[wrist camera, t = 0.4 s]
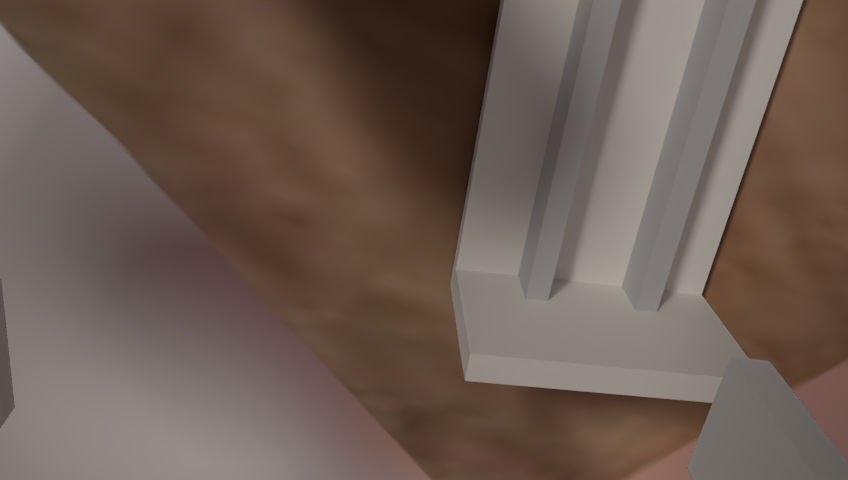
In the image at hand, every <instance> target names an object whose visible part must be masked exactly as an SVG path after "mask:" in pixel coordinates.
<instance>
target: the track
mask: <svg viewBox="0 0 848 480" xmlns="http://www.w3.org/2000/svg"><path fill="white" fill-rule="evenodd" d="M802 2H803V0H501V1H500V7H499V13H498V18H497V24H496V29H495V35H494V41H493V46H492V52H491V58H490V63H489V69H488V74H487V80H486V86H485V91H484V97H483V103H482V108H481V114H480V119H479V125H478V131H477V136H476V142H475V148H474V153H473V159H472V164H471V170H470V176H469V181H468V187H467V193H466V198H465V204H464V210H463V215H462V221H461V226H460V232H459V238H458V243H457V249H456V255H455V260H454V266H453V271H452V277H451V283H450V285H451V292H452V299H453V305H454V312H455V319H456V326H457V332H458V339H459V346H460V352H461V359H462V366H463V372H464V379H465V381H473V382H484V383H495V384H507V385H518V386H529V387H540V388H551V389H562V390H574V391H585V392H596V393H607V394H618V395H629V396H640V397H652V398H663V399H674V400H685V401H696V402H707V403H713V401H714V398H715V396H716V393H717V390H718V388H719V385H720V383H721V380H722V378H723V375H724V373H725V370H726V368H727V365H728V363H729V360H730V358H731V357H739V358H748V357H747V356H746V354H745V353H744V352H743V350H742V349H741V347H740V346H739V345H738V343H737V342H736V341H735V339H734V338H733V337H732V335H731V334H730V333H729V331H728V330H727V328H726V327H725V326H724V324H723V323H722V322H721V320H720V319H719V318H718V316H717V315H716V314H715V312H714V311H713V309H712V308H711V307H710V305H709V304H708V303H707V301H706V300H705V299H704V297H703V296H702V292H703V289H704V286H705V283H706V280H707V278H708V275H709V272H710V269H711V266H712V263H713V260H714V257H715V254H716V251H717V249H718V246H719V243H720V240H721V237H722V234H723V231H724V228H725V225H726V222H727V220H728V217H729V214H730V211H731V208H732V205H733V202H734V199H735V196H736V193H737V191H738V188H739V185H740V182H741V179H742V176H743V173H744V170H745V167H746V164H747V162H748V159H749V156H750V153H751V150H752V147H753V144H754V141H755V138H756V135H757V133H758V130H759V127H760V124H761V121H762V118H763V115H764V112H765V109H766V106H767V104H768V101H769V98H770V95H771V92H772V89H773V86H774V83H775V80H776V77H777V75H778V72H779V69H780V66H781V63H782V60H783V57H784V54H785V51H786V48H787V46H788V43H789V40H790V37H791V34H792V31H793V28H794V25H795V22H796V19H797V16H798V14H799V11H800V8H801V5H802ZM748 359H749V358H748Z"/></svg>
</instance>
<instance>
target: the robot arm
mask: <svg viewBox="0 0 848 480" xmlns="http://www.w3.org/2000/svg"><path fill="white" fill-rule="evenodd" d="M14 407H15V406H14V396H13V387H12V378H11V368H10V358H9V350H8V339H7V330H6V321H5V311H4V302H3V292H2V283H1V279H0V427H1V426H2V425H3V423H4V422H5V421H6V419H7V418H8V416H9V414H10V413H11V412H12V410H13V409H14ZM687 469H688V471H689V473H690V475H691V477H692V479H693V480H848V463H847V461H846V460H845V459H844V457H843V456H842V455H841V453H840V452H839V451H838V450H837V448H836V447H835V446H834V444H833V443H832V442H831V440H830V439H829V438H828V437H827V435H826V434H825V433H824V431H823V430H822V429H821V428H820V426H819V425H818V424H817V422H816V421H815V420H814V419H813V417H812V416H811V414H810V413H809V412H808V411H807V409H806V408H805V407H804V405H803V404H802V403H801V402H800V400H799V399H798V398H797V396H796V395H795V394H794V392H793V391H792V390H791V388H790V387H789V386H788V385H787V383H786V382H785V381H784V379H783V378H782V377H781V375H780V374H779V373H778V372H777V370H776V369H775V368H774V366H773V365H772V364H771V362H770V361H767V360H758V359H748V358H739V357H731V358H730V360H729V363H728V365H727V368H726V370H725V373H724V375H723V378H722V380H721V383H720V385H719V388H718V390H717V393H716V396H715V398H714V401H713V403H712V406H711V408H710V411H709V413H708V416H707V418H706V421H705V423H704V426H703V428H702V431H701V433H700V436H699V438H698V441H697V443H696V446H695V448H694V451H693V454H692V456H691V459H690V461H689V463H688V466H687Z"/></svg>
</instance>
